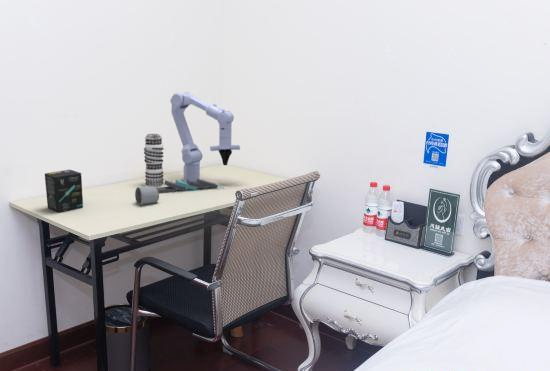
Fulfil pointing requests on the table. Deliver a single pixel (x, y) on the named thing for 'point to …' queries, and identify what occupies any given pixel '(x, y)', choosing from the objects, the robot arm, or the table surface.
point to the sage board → (199, 189)
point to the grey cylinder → (146, 195)
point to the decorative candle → (153, 160)
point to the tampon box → (64, 190)
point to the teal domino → (185, 185)
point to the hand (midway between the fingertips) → (225, 164)
